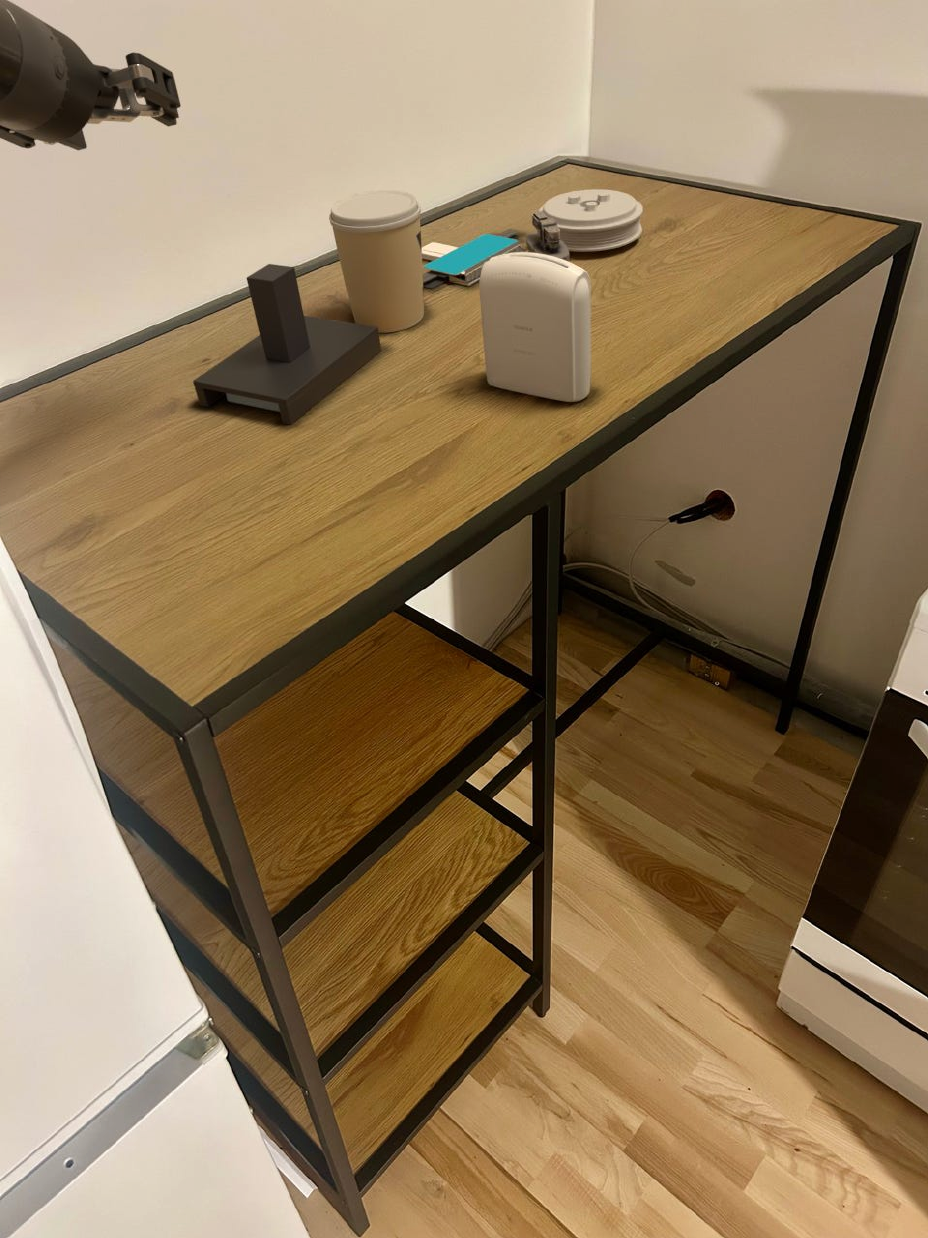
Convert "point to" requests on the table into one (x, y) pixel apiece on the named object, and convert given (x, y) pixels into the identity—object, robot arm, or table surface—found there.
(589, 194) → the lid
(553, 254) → the lighter
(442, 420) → the table surface
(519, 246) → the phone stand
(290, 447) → the table surface
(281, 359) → the cover
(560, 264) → the photo printer
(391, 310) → the coffee cup
